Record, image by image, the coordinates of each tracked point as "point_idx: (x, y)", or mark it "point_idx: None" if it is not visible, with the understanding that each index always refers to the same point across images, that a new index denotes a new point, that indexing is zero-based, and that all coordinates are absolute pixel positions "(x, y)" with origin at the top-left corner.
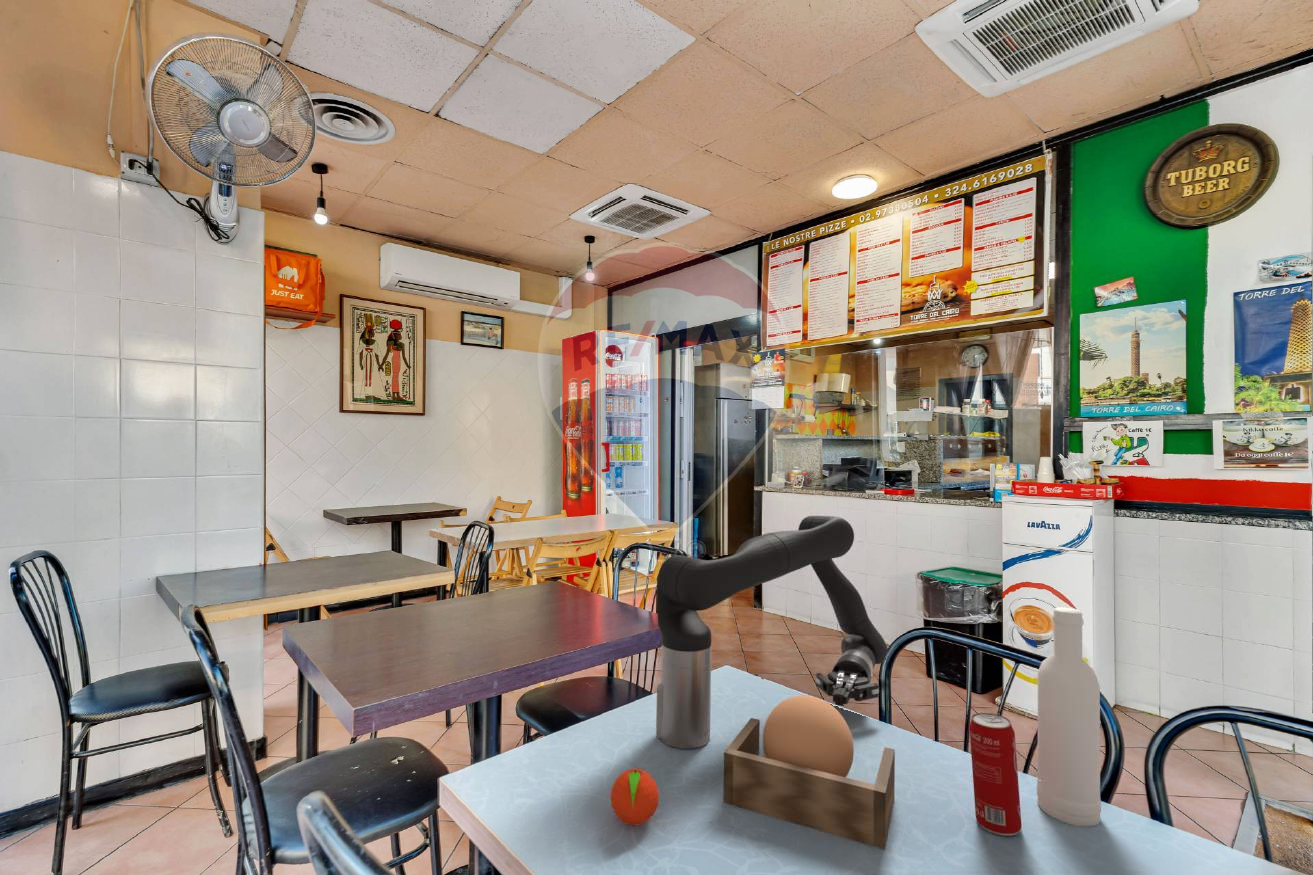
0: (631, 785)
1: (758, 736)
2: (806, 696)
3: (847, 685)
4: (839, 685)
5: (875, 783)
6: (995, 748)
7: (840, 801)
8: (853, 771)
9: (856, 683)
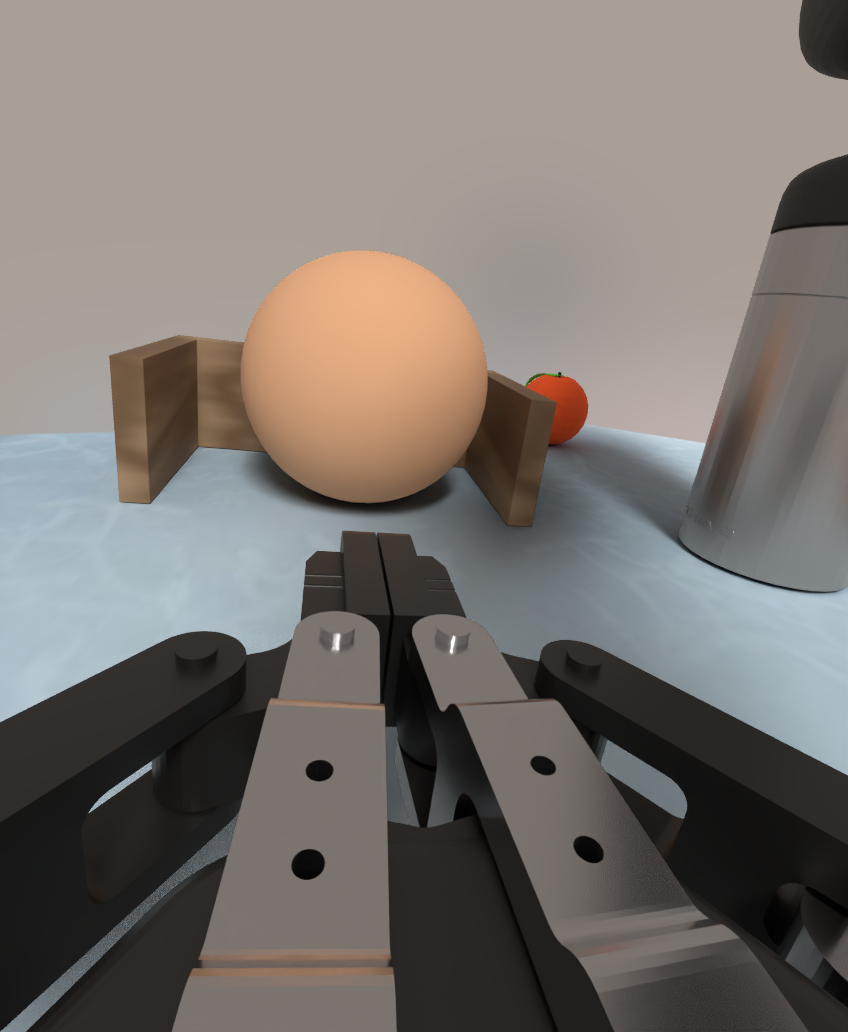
0: (541, 375)
1: (519, 442)
2: (388, 255)
3: (350, 669)
4: (440, 623)
5: (195, 339)
6: None
7: None
8: (239, 551)
9: (198, 878)
